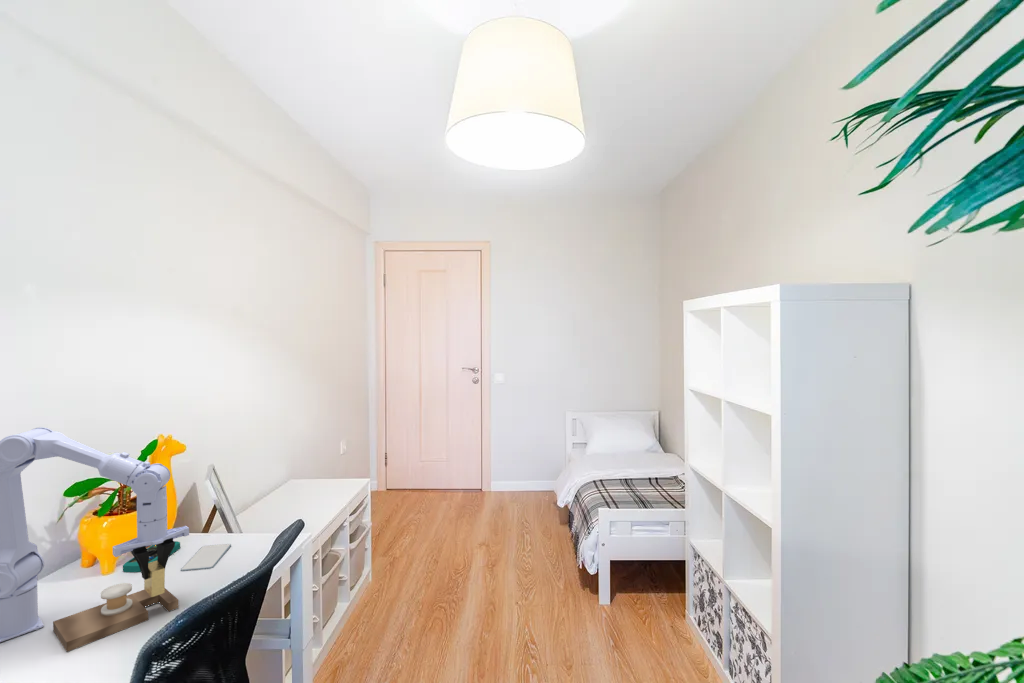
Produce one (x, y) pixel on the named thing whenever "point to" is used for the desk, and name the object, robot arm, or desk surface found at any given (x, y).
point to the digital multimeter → (133, 565)
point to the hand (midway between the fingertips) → (153, 575)
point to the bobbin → (116, 599)
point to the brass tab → (155, 579)
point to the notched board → (107, 620)
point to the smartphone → (206, 557)
